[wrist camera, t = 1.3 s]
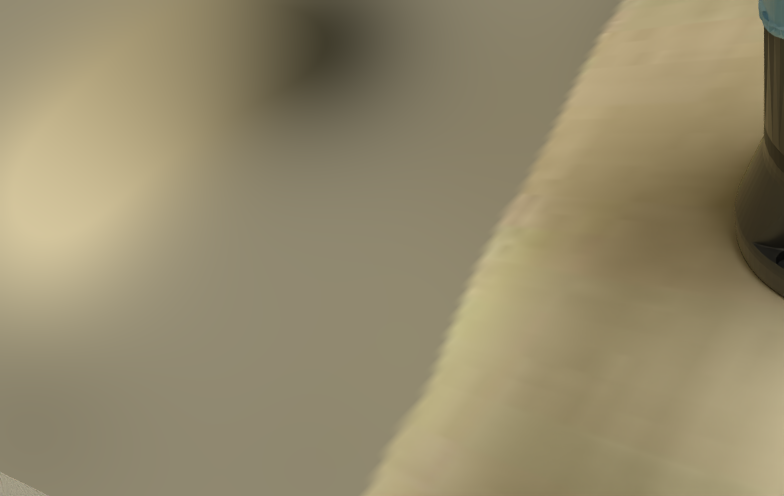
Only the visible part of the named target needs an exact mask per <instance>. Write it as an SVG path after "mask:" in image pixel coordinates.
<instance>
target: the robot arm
mask: <svg viewBox="0 0 784 496" xmlns="http://www.w3.org/2000/svg"><path fill="white" fill-rule="evenodd" d="M759 17H760V19H761V20H762V22H763V25H764V136H763V138H762V140H761V142H760V144H759V146H758V148H757V150H756V152H755V154H754V156H753V158H752V160H751V162H750V164H749V166H748V168H747V170H746V172H745V175H744V177H743V179H742V181H741V183H740V186H739V188H738V192H737V196H736V202H735V225H736V236H737V241H738V245H739V248H740V250H741V253H742V255H743V257H744V259H745V260H746V262H747V263H748V265H749V266H750V268H751V269H752V270H753V271H754V273H755V274H756V275H757V276H758V277H759V278H760V279H761V280H762V281H763V282H764V283H765V284H767V285H768V286H769V287H770V288H772V289H773V290H774V291H776V292H777V293H779V294H780V295H782V296H783V297H784V0H759Z"/></svg>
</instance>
